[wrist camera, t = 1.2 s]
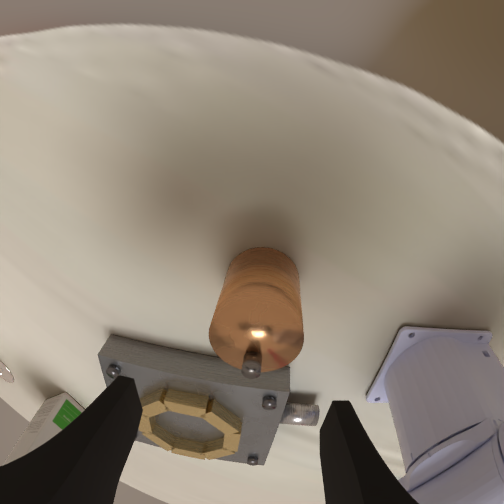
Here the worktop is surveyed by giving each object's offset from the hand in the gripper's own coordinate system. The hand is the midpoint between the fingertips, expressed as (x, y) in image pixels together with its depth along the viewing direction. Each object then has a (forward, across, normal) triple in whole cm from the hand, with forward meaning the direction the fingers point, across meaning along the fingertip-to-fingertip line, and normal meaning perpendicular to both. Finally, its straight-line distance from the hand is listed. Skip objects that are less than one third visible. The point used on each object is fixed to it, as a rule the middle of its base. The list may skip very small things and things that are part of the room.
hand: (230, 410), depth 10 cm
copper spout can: (+10, -1, 0) cm, 10 cm away
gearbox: (+10, +2, +13) cm, 16 cm away
